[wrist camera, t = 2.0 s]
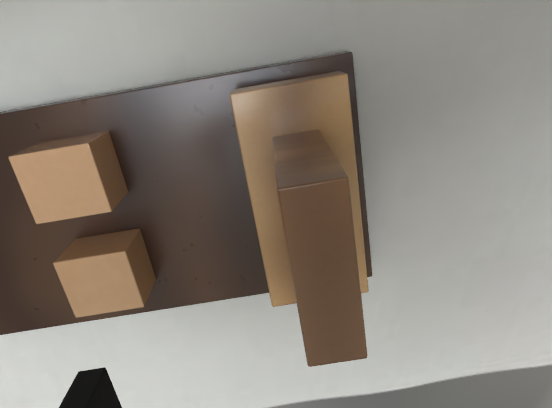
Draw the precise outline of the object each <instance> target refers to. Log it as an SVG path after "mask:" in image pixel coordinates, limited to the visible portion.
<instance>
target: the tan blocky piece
mask: <svg viewBox="0 0 552 408" xmlns="http://www.w3.org/2000/svg"><path fill="white" fill-rule="evenodd" d="M53 265H54V267H55V270H56V272H57V274H58V277H59V279H60V282H61V284H62V286H63V289H64V291H65V293H66V296H67V298H68V301H69V303H70V305H71V308H72V310H73V312H74V315H75V317H76V318H78V317H84V316H90V315H97V314H103V313H109V312H116V311H122V310H128V309H135V308H141V307H144V306H145V304H146V302H147V299H148V297H149V295H150V292H151V290H152V288H153V286H154V283H155V281H156V277H155V274H154V271H153V268H152V265H151V262H150V258H149V255H148V252H147V249H146V246H145V243H144V240H143V236H142V233H141V230H140V228H138V229H132V230H126V231H120V232H114V233H108V234H102V235H96V236H90V237H84V238H77V239H75V240H74V241H73V242H72V243H71V244H70V245H69V246H68V247H67V248H66V249H65V250H64V251H63V253H62V254H61V255H60V256H59V257H58V258H57V259H56V260H55V261H54V262H53Z"/></svg>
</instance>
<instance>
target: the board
mask: <svg viewBox="0 0 552 408" xmlns="http://www.w3.org/2000/svg"><path fill="white" fill-rule="evenodd" d="M336 71H341V72H344V73H346V74H347V75H348V82H349V93H350V103H351V114H352V124H353V134H354V145H355V155H356V166H357V176H358V187H359V197H360V208H361V218H362V228H363V239H364V249H365V260H366V270H367V277H370V276H372V267H371V256H370V245H369V234H368V222H367V211H366V200H365V189H364V178H363V167H362V156H361V145H360V134H359V123H358V112H357V101H356V89H355V78H354V67H353V56H352V52H347V51H345V52H339V53H334V54H328V55H322V56H317V57H311V58H305V59H300V60H294V61H288V62H283V63H277V64H271V65H266V66H260V67H254V68H249V69H243V70H237V71H231V72H226V73H220V74H214V75H209V76H203V77H197V78H192V79H186V80H180V81H175V82H169V83H163V84H158V85H152V86H146V87H141V88H135V89H129V90H123V91H118V92H112V93H106V94H101V95H95V96H89V97H84V98H78V99H72V100H67V101H61V102H55V103H50V104H44V105H38V106H33V107H27V108H21V109H15V110H10V111H4V112H0V335H3V334H9V333H15V332H22V331H28V330H34V329H41V328H47V327H53V326H60V325H66V324H72V323H79V322H85V321H91V320H98V319H104V318H110V317H117V316H123V315H129V314H136V313H142V312H149V311H155V310H161V309H168V308H174V307H180V306H187V305H193V304H199V303H206V302H212V301H218V300H225V299H231V298H237V297H244V296H250V295H256V294H263V293H269V288H268V283H267V278H266V273H265V268H264V263H263V259H262V254H261V249H260V244H259V239H258V234H257V229H256V224H255V219H254V214H253V209H252V204H251V199H250V194H249V189H248V184H247V179H246V174H245V170H244V165H243V160H242V155H241V150H240V145H239V140H238V135H237V130H236V125H235V120H234V115H233V110H232V105H231V100H230V93H231V92H232V90H233V89H239V88H244V87H250V86H256V85H262V84H267V83H273V82H279V81H285V80H290V79H296V78H302V77H308V76H313V75H319V74H325V73H330V72H336ZM104 131H109V133H110V136H111V139H112V142H113V146H114V149H115V152H116V155H117V158H118V161H119V164H120V167H121V171H122V174H123V177H124V180H125V183H126V186H127V189H128V193H127V194H126V196H125V197H124V198H123V199H122V200H121V201H120V203H119V204H118V205H117V206H116V207H115V208H114V209H113V211H112V212H107V213H101V214H95V215H89V216H83V217H77V218H71V219H65V220H59V221H53V222H47V223H41V224H36V222H35V220H34V218H33V215H32V213H31V210H30V208H29V206H28V203H27V201H26V199H25V196H24V194H23V191H22V189H21V187H20V184H19V182H18V180H17V177H16V175H15V172H14V170H13V168H12V165H11V163H10V161H9V158H8V157H9V156H11V155H13V154H16V153H18V152H20V151H22V150H24V149H26V148H28V147H30V146H33V145H35V144H37V143H40V142H46V141H52V140H57V139H63V138H69V137H75V136H81V135H86V134H92V133H98V132H104ZM138 228H140V230H141V233H142V236H143V240H144V243H145V246H146V249H147V252H148V255H149V258H150V262H151V265H152V268H153V271H154V274H155V277H156V281H155V283H154V286H153V288H152V290H151V292H150V295H149V297H148V299H147V302H146V304H145V306H144V307H141V308H135V309H128V310H122V311H116V312H109V313H103V314H97V315H90V316H84V317H78V318H76V317H75V315H74V312H73V310H72V308H71V305H70V303H69V301H68V298H67V296H66V293H65V291H64V289H63V286H62V284H61V282H60V279H59V277H58V274H57V272H56V270H55V267H54V265H53V262H54V261H55V260H56V259H57V258H58V257H59V256H60V255H61V254H62V253H63V251H64V250H65V249H66V248H67V247H68V246H69V245H70V244H71V243H72V242H73V241H74V240H75V239H77V238H84V237H90V236H96V235H102V234H108V233H114V232H120V231H126V230H132V229H138Z"/></svg>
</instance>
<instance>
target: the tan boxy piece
mask: <svg viewBox="0 0 552 408" xmlns="http://www.w3.org/2000/svg"><path fill="white" fill-rule="evenodd" d="M8 158H9V161H10V163H11V165H12V168H13V170H14V172H15V175H16V177H17V180H18V182H19V184H20V187H21V189H22V191H23V194H24V196H25V199H26V201H27V203H28V206H29V208H30V210H31V213H32V215H33V218H34V220H35V222H36V224H41V223H47V222H53V221H59V220H65V219H71V218H77V217H83V216H89V215H95V214H101V213H107V212H112V211H113V209H114V208H115V207H116V206H117V205H118V204H119V203H120V201H121V200H122V199H123V198H124V197H125V196H126V194H127V193H128V189H127V186H126V183H125V180H124V177H123V174H122V171H121V167H120V164H119V161H118V158H117V155H116V152H115V149H114V146H113V142H112V139H111V136H110V133H109V131H104V132H98V133H92V134H86V135H81V136H75V137H69V138H63V139H57V140H52V141H46V142H40V143H37V144H35V145H33V146H30V147H28V148H26V149H24V150H22V151H20V152H18V153H16V154H13V155H11V156H9V157H8Z"/></svg>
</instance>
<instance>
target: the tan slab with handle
mask: <svg viewBox="0 0 552 408" xmlns="http://www.w3.org/2000/svg"><path fill="white" fill-rule="evenodd" d="M230 100H231V105H232V110H233V115H234V120H235V125H236V130H237V135H238V140H239V145H240V150H241V155H242V160H243V165H244V170H245V174H246V179H247V184H248V189H249V194H250V199H251V204H252V209H253V214H254V219H255V224H256V229H257V234H258V239H259V244H260V249H261V254H262V259H263V263H264V268H265V273H266V278H267V283H268V288H269V293H270V298H271V303H272V306H273V307H275V306H281V305H288V304H294V303H297V307H298V313H299V318H300V324H301V330H302V335H303V341H304V347H305V353H306V358H307V364H308V366H310V367H311V366H318V365H324V364H331V363H337V362H344V361H351V360H357V359H364V358H367V347H366V338H365V328H364V318H363V309H362V299H361V293H364V292H368V281H367V270H366V260H365V249H364V239H363V228H362V218H361V208H360V197H359V187H358V176H357V166H356V155H355V145H354V134H353V124H352V114H351V103H350V93H349V82H348V75H347V74H346V73H344V72H341V71H336V72H330V73H325V74H319V75H313V76H308V77H302V78H296V79H290V80H285V81H279V82H273V83H267V84H262V85H256V86H250V87H244V88H239V89H233V90H232V92H231V93H230Z"/></svg>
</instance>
